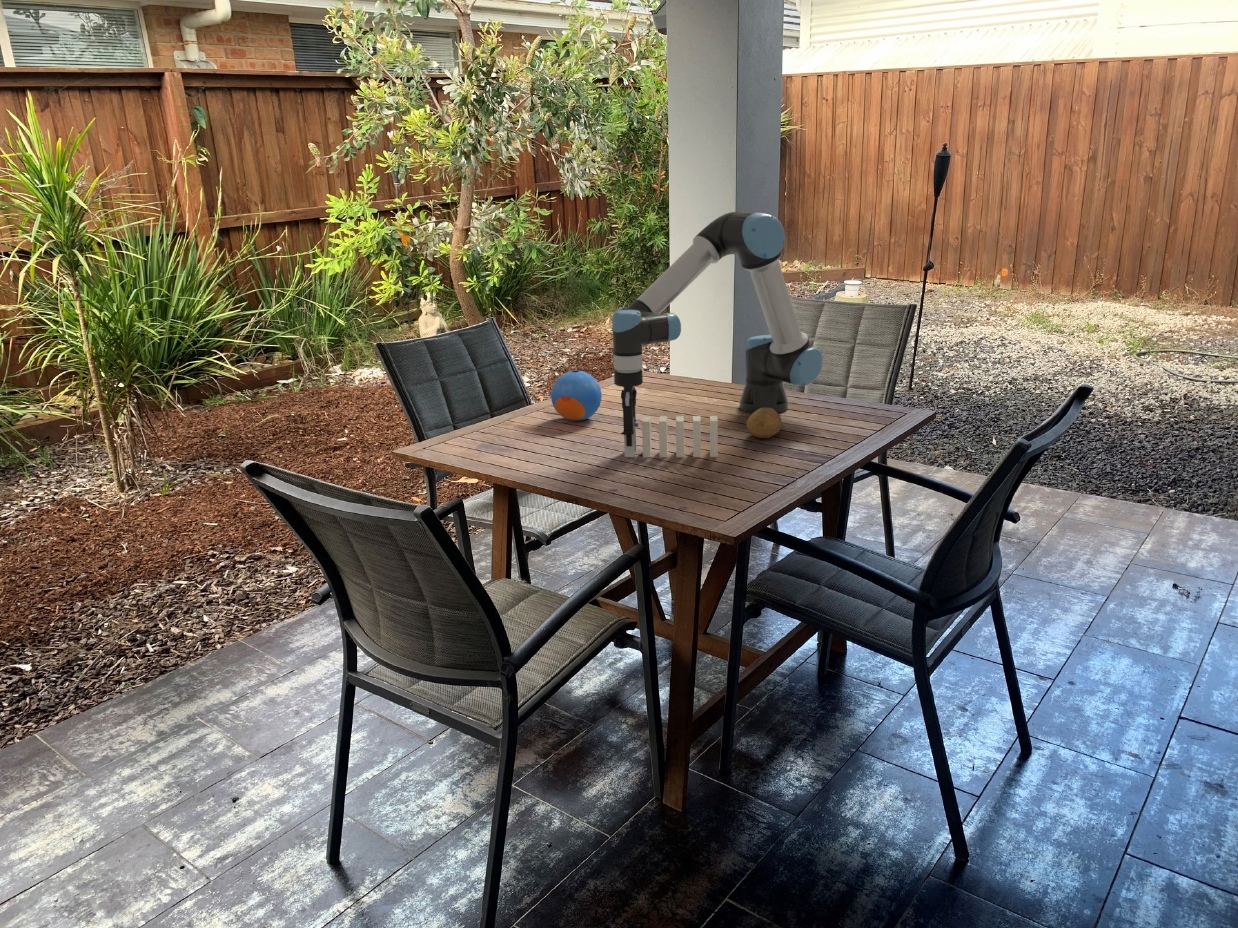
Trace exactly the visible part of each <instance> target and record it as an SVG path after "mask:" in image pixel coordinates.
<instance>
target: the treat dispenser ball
mask: <svg viewBox="0 0 1238 928" xmlns="http://www.w3.org/2000/svg"><path fill="white" fill-rule="evenodd" d="M602 395H603V394H602V390H601V387H600V384H599V382H598V381H597V379H596V378H594V376H593V375H591V374H590V373H587V372H586V371H582V370H570V371H567V372H565V373H563V374H561V375H560V376H558V377H557V379H556V380H555V382H554V384H553V385H552V388H551V393H550V399H551V403H552V406H553V408H554V410H555V411H556V413H557V414H558V415H559V416H561V417H563V418H564V419H566V420H569V421H571V422H580V421H585V420H587V419H589V418H592V416H594V415H595V413H597V412H598V410H599V407H600V406H601V403H602Z"/></svg>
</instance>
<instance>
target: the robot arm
mask: <svg viewBox="0 0 1238 928" xmlns="http://www.w3.org/2000/svg"><path fill="white" fill-rule="evenodd" d="M785 234H786V233H785V229H784V226H783V224H782V223H781V222H780V220H779V219H778V218H777V217H775V216H774V215H772V214H767V213H764V212H740V211H731V212H727V213H725V214H722V215H720V216H719V217H717V218H716V219H714V220H713V221H711V222H710V223H708V224H707V225H706V226H705V227H704V228H703V229H702V230H701V231H699V232H698V234H696V235H695V236H694V237H693V240H692V244H691V245H690V246H689V247H688V248H687V249H686V250H685V251H684V252H683V253H682V254H681V255H680V256H679V257H678V258H677V259H676V260H675V261H674V262H673V263H672V264H671V265H670V266H669V267H668V268H667V269H666V270H665V271H663V273H662V274H661V275H660V276H659V277H657V279H655V281H654V282H653V283H652V284H651V285H649V286H648V287H647V288H646V289H645V290H644V291H643V292H642V293H641V295H640V296H638V297H637V298H636V299H635V300H634V301H633V302H632V303H631V304H630V305H629V306H622V307H619V308H617V309H616V310H615V311H614V312H613V315H612V318H611V323H612V326H611V327H612V328H611V330H612V345H613V346H612V347H613V348H612V349H613V357H611V359H610V360H611V361H612V362H613V368H614V371H613V376H614V378H613V382H614V385H615V386H618V387H622V388H623V389H621V392H620V399H621V408H622V421H623V423H622V426H623V431H622V432H620V433H621V435H622V436H623V438H624V439H623V445H624V458H636V452H637V430H636V429H637V428H638V427H639V423H638V422H637V419H636V418H637V417H636V416H637V415H636V405H637V394H638V392H637V389H636V387H638V386H641V385H643V382H644V381H643V380H644V379H643V370H642V369H643V346H646V345H653V344H661V343H669V342H672V341H675V340H677V339H678V338H679V337H680V336H681V332H682V322H681V319H680V318H679V316H678V315H677V314H676V313H674V312H663V311H665V309H667V308H668V307H669V306H670V305H671V304H672V303H673V302H674V301H675V300H676V298H678V297H679V296H680V295H681V294H682V293H683V292H684V291H685V290H686V289H687V288H688V286H689V285H691V284H692V283H693V282H694V281H695V280H696V279H697V278H698V277H699V276H700V275H702V273H703V272H704V271H706V269H707V268H708V267H709V266H710V265H711V264H714V265H715V264H717V263H718V262H720V260H721V259H722V258H724V257H726V256H728V255H730V256H731V255H733V256H734V255H735V256H737V257H738V259H739V262H740V265H741V268H742V269H743V270H745V271H748V272H749V274H750V277H751V281H752V283H753V287H754V290H755V292H756V296H757V298H758V301H759V305H760V307H761V308H760V309H761V311H762V313H763V314H762V315H763V316H764V319H765V323H766V325H767V328H768V331H769V334H762V335H756V336H755V335H754V336H751V337H749V338H747V340H746V343H745V345H746V346H745V385H744V387H743V390H742V393H741V395H740V396H741V397H740V399H739V408H740V410H741V411H743V412H746V413H749V414H750V413H751V414H753V413H754V412H755V411H756V410H758V409H760V408H772V409H774V410H775V411H776V412H777V413H778V414H780V413H782V412H786V411H787V410H788V409H789V401H788V396H787V394H786V390H785V387H784V382H785V383H788V384H792V385H795V386H802V387H803V386H804V387H805V386H808V385H810V384H812V383H813V382H815V380H816V379H818V377H819V375H821V374H820V373H821V371H822V368H823V362H824V359H823V354H822V352H821V351H820V349H817V348H816V347H815V346H813V347H812V346H811V342H810V339H809V336H808V335H807V333H806V332H802V331H801V328H800V325H799V322H798V318H797V315H796V313H795V312H796V311H795V309H794V306H793V302H792V299H791V296H790V293H789V290H788V287H787V283H786V279H785V278H784V274H783V271H782V267H781V264H780V261H779V260H780V259H781V257H782V255H783V252H782V251H783V248H784V246H785V244H784V241H785V240H786V235H785ZM662 312H663V313H662ZM633 417H634V425H635V440H634V427H633Z"/></svg>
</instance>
